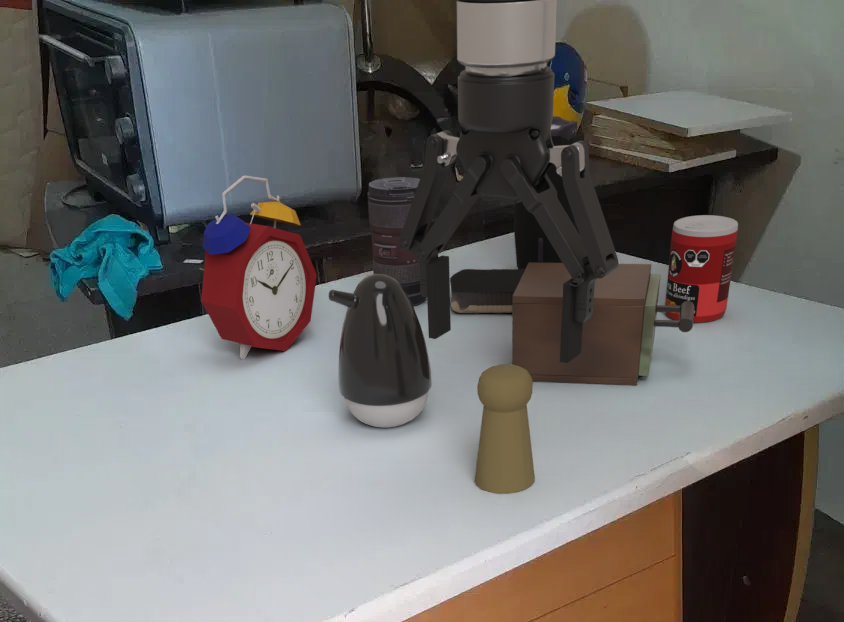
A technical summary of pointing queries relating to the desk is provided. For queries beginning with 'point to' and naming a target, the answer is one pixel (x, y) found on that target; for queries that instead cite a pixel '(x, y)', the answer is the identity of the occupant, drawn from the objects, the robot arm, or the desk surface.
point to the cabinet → (602, 333)
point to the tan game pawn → (504, 430)
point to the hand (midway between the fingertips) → (503, 345)
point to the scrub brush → (484, 290)
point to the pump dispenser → (382, 353)
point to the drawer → (659, 321)
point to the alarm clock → (257, 277)
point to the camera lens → (393, 232)
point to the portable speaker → (526, 227)
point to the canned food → (701, 265)
